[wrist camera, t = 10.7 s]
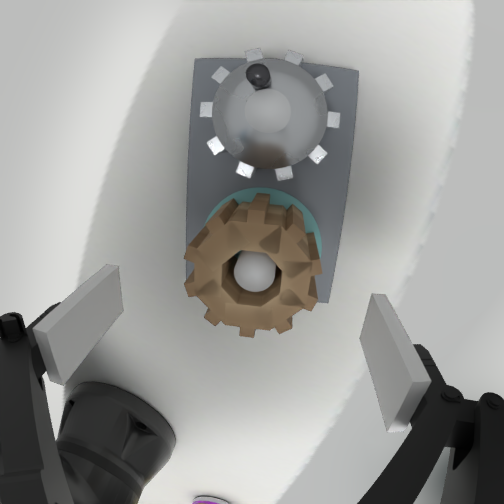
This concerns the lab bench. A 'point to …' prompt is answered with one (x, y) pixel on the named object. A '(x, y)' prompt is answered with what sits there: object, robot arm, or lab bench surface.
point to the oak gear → (258, 240)
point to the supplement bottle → (208, 500)
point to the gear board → (273, 170)
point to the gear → (278, 143)
